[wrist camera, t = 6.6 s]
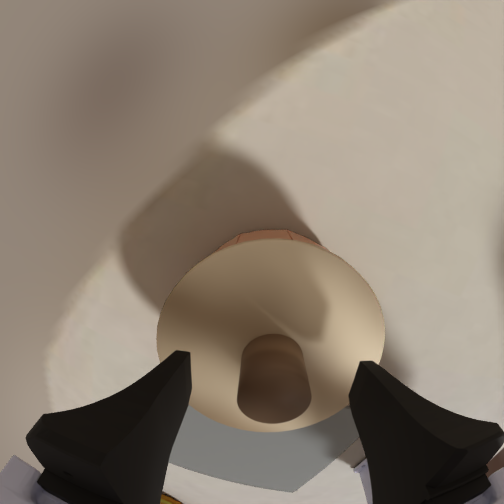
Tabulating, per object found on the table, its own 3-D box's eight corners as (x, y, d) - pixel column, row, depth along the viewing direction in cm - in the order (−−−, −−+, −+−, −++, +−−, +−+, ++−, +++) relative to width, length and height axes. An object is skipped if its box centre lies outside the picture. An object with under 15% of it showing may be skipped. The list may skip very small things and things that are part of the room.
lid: (310, 438, 15) (317, 481, 12) (141, 381, 15) (118, 423, 11) (416, 295, 13) (455, 327, 9) (208, 195, 12) (185, 201, 8)
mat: (292, 490, 24) (292, 492, 24) (162, 457, 23) (161, 459, 22) (378, 412, 20) (380, 415, 20) (209, 362, 19) (208, 365, 19)
